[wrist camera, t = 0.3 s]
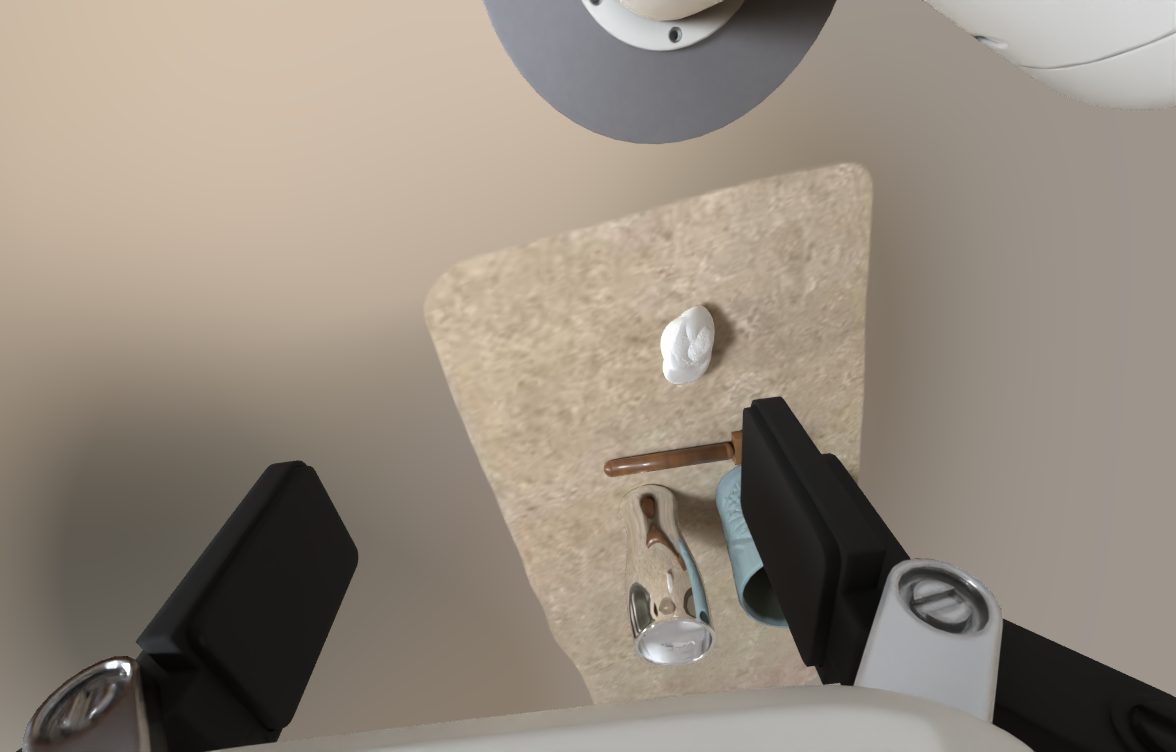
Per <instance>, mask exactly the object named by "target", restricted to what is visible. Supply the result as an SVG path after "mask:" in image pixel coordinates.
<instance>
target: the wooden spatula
mask: <svg viewBox="0 0 1176 752" xmlns="http://www.w3.org/2000/svg"><path fill="white" fill-rule="evenodd" d="M730 458H733V461H734V463H735V465H739V464H741V460H742V431H736V432H732V445H730V444H728V443H721V444H714V445H708V446H701V447H695V448H688V449H682V450H675V451H669V452H662V453H656V454H649V455H643V456H636V457H629V458H623V459H616V460H610V461H608V462H607V463H606V464H605V466H604V472H605V473H606V475H607V476H609V477H616V476H623V475H630V474H636V473H643V472H649V471H656V470H663V469H669V468H676V467H682V466H689V465H696V464H702V463H709V462H715V461H722V460H728V459H730Z"/></svg>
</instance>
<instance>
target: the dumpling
mask: <svg viewBox="0 0 1176 752" xmlns="http://www.w3.org/2000/svg"><path fill="white" fill-rule="evenodd" d="M714 333H715V329H714V322H713V318H712V316H711V315H710V313H709V312H708V310H707V309H706V308H705V307H703V306H700V305H696V306H693V307H692V308H689V309H688V310H686V311H685V312H684V313H683V314H682V315H680V317H679V318H677V319H675V320H673V321H672V322H670V323H669V324H668V325H667V327H666V328H665V330H664V332H663V334H662V338H661V351H662V355H663V358H664V362H663V372H664V375H665V377H666V378H667V379H668V380H669V381H670V382H672V383H675V384H686V383H689V382H692V381H695V380H696V379H698V378H699V377H700V376H701V375H702V374H703V373H704V372H705V371H706V370H707V368H708V366H709V363H710V360H711V352H712V347H713V343H714ZM718 375H719V374H718ZM678 387H682V386H678Z"/></svg>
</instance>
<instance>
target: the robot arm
mask: <svg viewBox="0 0 1176 752" xmlns="http://www.w3.org/2000/svg"><path fill="white" fill-rule="evenodd" d="M581 1H582V3H583V5H584V6H585V7H586V9H587V10H588V12H589V13H590V14H591V16H592V17H593V18H594V20H595V21H596V22H597V23H598V24H599V25H600V26H601V27H602V28H603V29H605V30H606V31H607V32H608V33H609V34H610V35H612V36H613V37H615V38H617V39H618V40H620V41H622V42H623V43H625V44H627V45H630V46H633V47H636V48H639V49H642V50H652V51H668V50H675V49H680V48H683V47H687V46H690V45H692V44H694V43H696V42H698V41H701V40H703V39H705V38H707V37H708V36H710V35H711V34H712V33H714V32H715V31H716V30H718V29H719V28H720V27H722V26H723V25H724V24H725V23H726V22H727V21H728V20H729V19H730V18H731V17H732V16H733V15H734V14H735V13H736V11H737V10H738V9H739V8H740V7H741V5H742V4H743V2H744V1H745V0H599V2H598V3H594V2H593V1H592V0H581ZM923 1H924V2H926V3H927V4H929V5H930V6H931V7H933V8H934V9H935V10H937V11H938V12H940V13H941V14H943V15H944V16H945V17H947V18H948V19H950V20H951V21H952V22H954V23H955V24H956V25H958V26H959V27H961V28H962V29H964V30H965V31H966V32H968V33H969V34H970V35H972V36H973V37H975V38H976V39H977V40H979V41H980V42H982V43H983V44H984V45H986V46H987V47H989V48H990V49H991V50H993V51H994V52H996V53H997V54H998V55H1000V56H1002V57H1003V58H1005V59H1006V60H1007V61H1009V62H1010V63H1012V64H1013V65H1015V66H1016V67H1018V68H1019V69H1020V70H1022V71H1023V72H1025V73H1026V74H1028V75H1029V76H1031V77H1032V78H1033V79H1035V80H1037V81H1039V82H1040V83H1042V84H1044V85H1046V86H1047V87H1049V88H1051V89H1053V90H1054V91H1056V92H1058V93H1060V94H1063V95H1065V96H1068V97H1070V98H1073V99H1075V100H1078V101H1080V102H1083V103H1088V104H1092V105H1096V106H1101V107H1106V108H1111V109H1127V110H1128V109H1129V110H1154V109H1164V108H1173V107H1176V0H923ZM672 31H675V32H676V33H677V38H676V39H675V40H672V39H671V38H670V33H671V32H672ZM740 503H741V509H742V513H743V517H744V519H745V522H746V524H747V526H748V529H749V531H750V534H751V536H752V539H753V541H754V543H755V546H756V548H757V551H758V553H759V556H760V558H761V561H762V563H763V565H764V568H765V570H766V573H767V575H768V578H769V580H770V582H771V585H772V587H773V590H774V592H775V595H776V597H777V599H778V602H779V604H780V607H781V609H782V612H783V614H784V617H785V619H786V621H787V624H788V626H789V629H790V631H791V634H792V636H793V638H794V641H795V643H796V646H797V648H798V651H799V653H800V655H801V658H802V660H803V662H804V663H805V665H806V666H807V667H809V666H815V667H816V670H817V672H818V674H819V677H820V679H821V681H822V683H823V685H808V686H807V685H805V686H782V687H768V688H757V689H746V690H735V691H724V692H713V693H703V694H692V695H682V696H673V697H663V698H654V699H645V700H636V701H627V702H618V703H609V704H600V705H591V706H582V707H573V708H564V709H555V710H546V711H538V712H529V713H520V714H511V715H502V716H494V717H486V718H476V719H468V720H459V721H450V722H442V723H434V724H425V725H416V726H408V727H400V728H390V729H382V730H374V731H365V732H357V733H349V734H340V735H333V736H325V737H316V738H308V739H299V740H291V741H283V742H277V740H278V738H279V736H280V733H281V731H282V729H283V728H284V727H286V726H287V725H288V724H289V723H290V722H291V720H292V718H293V716H294V714H295V712H296V709H297V707H298V705H299V702H300V700H301V697H302V695H303V693H304V690H305V688H306V686H307V683H308V681H309V678H310V676H311V674H312V671H313V669H314V667H315V664H316V661H317V660H318V657H319V655H320V652H321V650H322V648H323V645H324V643H325V641H326V638H327V636H328V633H329V631H330V628H331V626H332V624H333V622H334V619H335V617H336V614H337V612H338V610H339V607H340V605H341V602H342V600H343V597H344V595H345V593H346V591H347V588H348V586H349V584H350V581H351V579H352V576H353V574H354V572H355V569H356V567H357V564H358V551H357V548H356V546H355V544H354V542H353V540H352V538H351V537H350V535H349V533H348V531H347V529H346V527H345V525H344V524H343V522H342V520H341V518H340V516H339V515H338V512H337V510H336V509H335V507H334V505H333V503H332V501H331V500H330V497H329V496H328V494H327V492H326V490H325V488H324V486H323V484H322V483H321V481H320V479H319V477H318V475H317V473H316V471H315V470H314V468H312V467H311V466H307V465H306V464H305V463H304V462H302V461H291V462H284V463H275V464H272V465H270V466H269V467H268V468H267V469H266V470H265V471H264V473H263V474H262V475H261V477H260V478H259V479H258V480H257V482H256V483H255V484H254V486H253V487H252V488H251V490H250V491H249V492H248V494H247V495H246V496H245V498H244V499H243V500H242V502H241V503H240V504H239V506H238V507H237V508H236V510H235V511H234V512H233V514H232V515H231V516H230V518H229V519H228V520H227V521H226V523H225V524H224V526H223V527H222V528H221V529H220V531H219V532H218V533H217V535H216V536H215V537H214V539H213V540H212V541H211V543H210V544H209V545H208V547H207V548H206V549H205V551H204V552H203V553H202V555H201V556H200V557H199V559H198V560H197V561H196V563H195V564H194V565H193V566H192V568H191V569H190V570H189V572H188V573H187V574H186V576H185V577H184V578H183V580H182V581H181V582H180V584H179V585H178V586H177V588H176V589H175V591H174V592H173V593H172V594H171V596H170V597H169V598H168V600H167V601H166V602H165V604H164V605H163V606H162V608H161V609H160V610H159V611H158V613H157V614H156V616H155V617H154V618H153V619H152V621H151V622H150V623H149V625H148V626H147V627H146V629H145V630H144V631H143V633H142V634H141V635H140V637H139V638H138V639H137V641H136V643H137V644H138V645H139V646H140V647H141V648H142V649H143V651H142V652H141V653H140V655H139V656H138V657H137V659H133V658H131V657H129V656H114V657H111V658H108V659H105V660H101V661H99V662H97V663H95V664H93V665H91V666H89V667H87V668H85V669H83V670H82V671H80V672H79V673H77V674H76V675H74V676H73V677H71V678H70V679H68V680H67V681H66V682H65V683H63V684H62V685H61V686H60V687H59V688H58V689H56V690H55V691H54V692H53V693H52V694H51V695H50V696H49V697H48V698H47V699H46V700H45V701H44V702H43V703H42V705H41V706H40V707H39V708H38V709H37V710H36V712H35V713H34V715H33V717H32V718H31V720H30V721H29V723H28V725H27V727H26V730H25V734H24V737H23V744H22V748H21V749H19V750H18V751H16V752H1176V697H1174V696H1172V695H1170V694H1168V693H1166V692H1164V691H1161V690H1159V689H1157V688H1155V687H1152V686H1150V685H1148V684H1146V683H1144V682H1141V681H1139V680H1137V679H1135V678H1133V677H1130V676H1128V675H1126V674H1124V673H1122V672H1120V671H1117V670H1115V669H1113V668H1111V667H1109V666H1106V665H1104V664H1102V663H1100V662H1098V661H1095V660H1093V659H1091V658H1089V657H1087V656H1084V655H1082V654H1080V653H1078V652H1076V651H1073V650H1071V649H1069V648H1067V647H1065V646H1062V645H1060V644H1058V643H1056V642H1054V641H1051V640H1049V639H1046V638H1045V637H1042V636H1040V635H1038V634H1036V633H1034V632H1032V631H1029V630H1027V629H1025V628H1023V627H1021V626H1018V625H1016V624H1014V623H1012V622H1009V621H1007V620H1005V619H1003V618H1002V611H1001V608H1000V606H999V604H998V602H997V600H996V599H995V597H994V595H993V594H992V593H991V592H990V591H989V590H988V589H987V588H986V587H985V585H984V584H983V583H982V582H980V581H979V580H978V579H976V578H975V577H973V576H972V575H970V574H969V573H967V572H966V571H964V570H962V569H960V568H957V567H955V566H953V565H951V564H949V563H945V562H942V561H938V560H934V559H923V558H915V559H910V557H909V556H908V555H907V553H906V552H905V550H904V549H903V548H902V546H901V545H900V543H899V542H898V541H897V539H896V538H895V537H894V535H893V534H892V532H891V531H890V530H889V528H888V527H887V525H886V524H885V523H884V521H883V520H882V519H881V517H880V516H879V514H878V513H877V512H876V510H875V509H874V507H873V506H872V505H871V503H870V502H869V501H868V499H867V498H866V496H865V495H864V494H863V492H862V491H861V489H860V488H859V487H858V485H857V484H856V482H855V481H854V480H853V478H852V477H851V476H850V474H849V473H848V471H847V470H846V469H845V467H844V466H843V464H842V463H841V462H840V460H839V459H838V458H837V457H836V456H835V455H833V454H831V453H828V454H821V453H820V452H819V450H818V449H817V447H816V446H815V444H814V443H813V441H812V440H811V439H810V437H809V436H808V434H807V433H806V431H805V430H804V428H803V427H802V425H801V424H800V422H799V421H798V420H797V418H796V417H795V415H794V414H793V412H792V411H791V409H790V408H789V406H788V405H787V403H786V402H785V401H784V399H783V398H782V397H772V398H765V399H757V400H753V401H752V404H751V407H749V408H744V410H743V428H742V460H741V492H740ZM834 683H840V684H841V685H825V684H834Z"/></svg>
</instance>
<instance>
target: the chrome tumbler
mask: <svg viewBox="0 0 1176 752" xmlns="http://www.w3.org/2000/svg"><path fill="white" fill-rule="evenodd" d="M620 515H621V517H622V520H623V523H624V525H625V528H626V533H627V556H626V569H625V595H626V605H627V612H628V618H629V623H630V628H631V633H632V637H633V642H634V650H635V653H636V655H637V656H638V657H639V658H640V659H641V660H642V661H644V662H646V663H648V664H650V665H653V666H657V667H665V668H673V667H682V666H686V665H690V664H693V663H695V662H698V661H700V660H701V659H703V658H705V657H706V656H707V655H708V654H709V653H710V652H711V651H712V650H713V649H714V647H715V644H716V634H715V631H714V626H713V620H712V614H711V609H710V604H709V599H708V595H707V591H706V588H705V584H704V581H703V578H702V575H701V573H700V570H699V568H698V565H697V563H696V561H695V559H694V557H693V555H692V553H691V551H690V549H689V547H688V545H687V543H686V541H685V539H684V536H683V534H682V532H681V529H680V525H679V518H678V502H677V499H676V497H675V495H674V494H673V493H672V492H671V491H670V490H669V489H667V488H665V487H662V486H658V485H645V486H640V487H637V488H635V489H633V490H631V491H630V492H628V493H627V494H626V495H625V496H624V497H623V499H622V501H621V503H620Z"/></svg>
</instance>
